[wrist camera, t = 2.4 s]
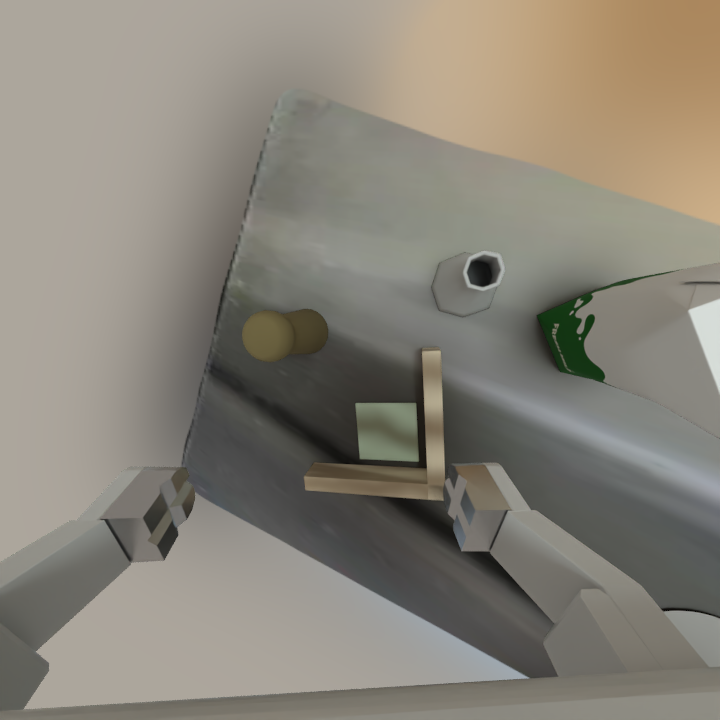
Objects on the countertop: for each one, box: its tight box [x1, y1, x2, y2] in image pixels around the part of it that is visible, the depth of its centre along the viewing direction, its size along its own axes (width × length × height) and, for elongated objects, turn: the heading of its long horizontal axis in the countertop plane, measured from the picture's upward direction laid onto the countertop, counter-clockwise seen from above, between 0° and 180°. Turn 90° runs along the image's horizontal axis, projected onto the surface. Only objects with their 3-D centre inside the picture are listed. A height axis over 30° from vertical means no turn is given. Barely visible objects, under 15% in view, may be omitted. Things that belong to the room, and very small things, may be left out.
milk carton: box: [537, 263, 720, 439], centre depth 19 cm, size 9×9×20 cm
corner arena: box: [304, 347, 445, 501], centre depth 34 cm, size 18×18×4 cm
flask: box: [431, 250, 506, 317], centre depth 26 cm, size 7×7×10 cm
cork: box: [242, 309, 328, 362], centre depth 30 cm, size 6×6×11 cm
